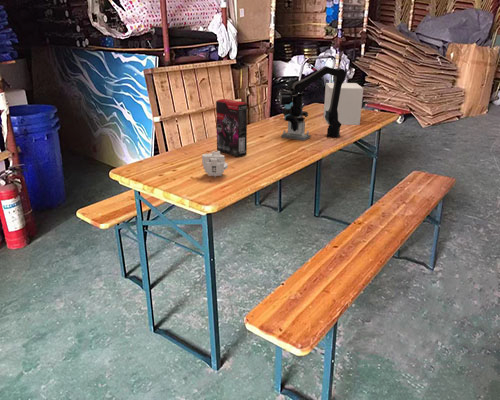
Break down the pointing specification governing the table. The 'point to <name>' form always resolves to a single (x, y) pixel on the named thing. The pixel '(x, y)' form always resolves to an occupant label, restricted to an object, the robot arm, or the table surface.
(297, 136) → the pin tray
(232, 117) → the graphics card box
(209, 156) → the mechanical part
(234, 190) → the table surface
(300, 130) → the block
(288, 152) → the table surface
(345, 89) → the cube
